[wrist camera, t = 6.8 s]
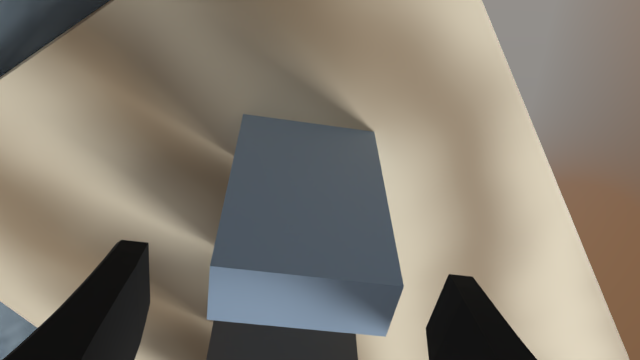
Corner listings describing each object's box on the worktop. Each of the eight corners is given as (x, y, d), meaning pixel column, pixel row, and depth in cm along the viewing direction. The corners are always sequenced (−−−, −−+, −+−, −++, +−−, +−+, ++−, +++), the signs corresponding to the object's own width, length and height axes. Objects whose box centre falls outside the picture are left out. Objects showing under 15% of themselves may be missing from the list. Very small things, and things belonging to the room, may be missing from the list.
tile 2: (339, 266, 21) (348, 433, 16) (229, 254, 21) (198, 422, 15) (347, 232, 20) (361, 399, 15) (232, 219, 20) (201, 386, 14)
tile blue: (363, 175, 19) (385, 336, 13) (239, 159, 18) (206, 319, 13) (374, 131, 18) (403, 286, 12) (243, 113, 17) (210, 266, 12)
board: (259, 468, 33) (258, 484, 32) (-138, 173, 20) (-157, 188, 19) (623, 350, 27) (633, 368, 26) (395, -199, 13) (400, -198, 13)
